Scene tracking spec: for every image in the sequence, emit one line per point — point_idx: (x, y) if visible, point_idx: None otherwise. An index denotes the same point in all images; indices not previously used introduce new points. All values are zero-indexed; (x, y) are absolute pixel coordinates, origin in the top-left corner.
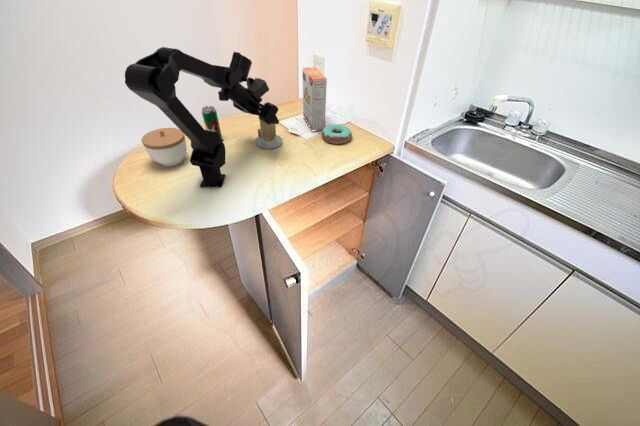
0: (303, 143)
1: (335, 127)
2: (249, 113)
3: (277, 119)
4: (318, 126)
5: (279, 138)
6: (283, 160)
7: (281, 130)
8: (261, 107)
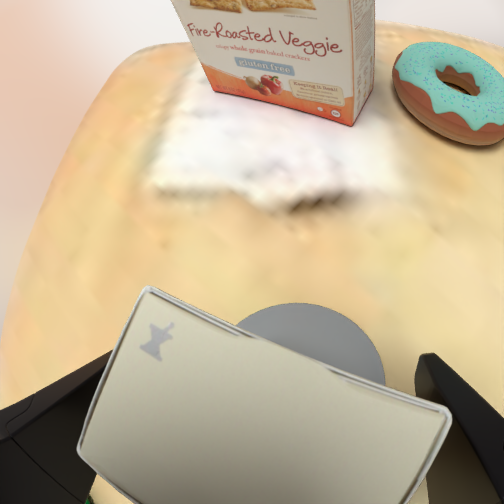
0: (431, 232)
1: (433, 62)
2: (85, 502)
3: (466, 391)
4: (364, 88)
5: (322, 322)
6: None
7: (222, 228)
8: (115, 448)
